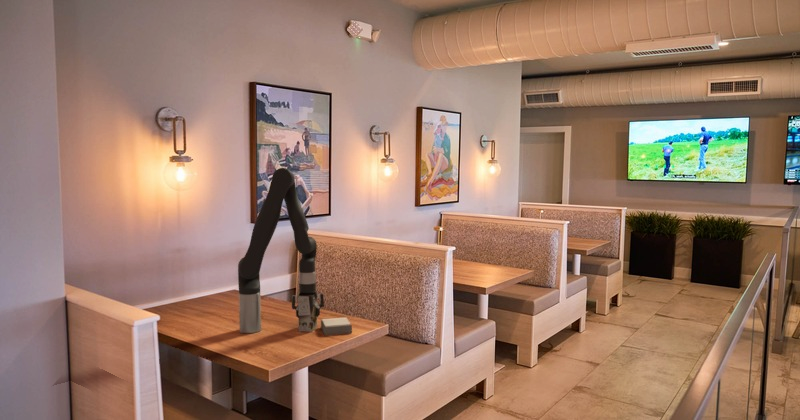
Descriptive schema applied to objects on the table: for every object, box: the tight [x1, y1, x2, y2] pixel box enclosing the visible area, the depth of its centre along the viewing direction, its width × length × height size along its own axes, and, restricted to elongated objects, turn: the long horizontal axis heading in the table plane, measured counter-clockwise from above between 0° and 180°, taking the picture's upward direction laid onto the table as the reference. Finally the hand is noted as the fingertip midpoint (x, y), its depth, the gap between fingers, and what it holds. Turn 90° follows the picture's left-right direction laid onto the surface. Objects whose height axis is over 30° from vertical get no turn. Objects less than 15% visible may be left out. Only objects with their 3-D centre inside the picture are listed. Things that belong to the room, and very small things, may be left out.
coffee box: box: [297, 291, 318, 333], centre depth 254 cm, size 9×6×16 cm
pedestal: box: [320, 316, 353, 336], centre depth 252 cm, size 12×12×4 cm
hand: (308, 317), depth 254 cm, fingers open, 8 cm apart
